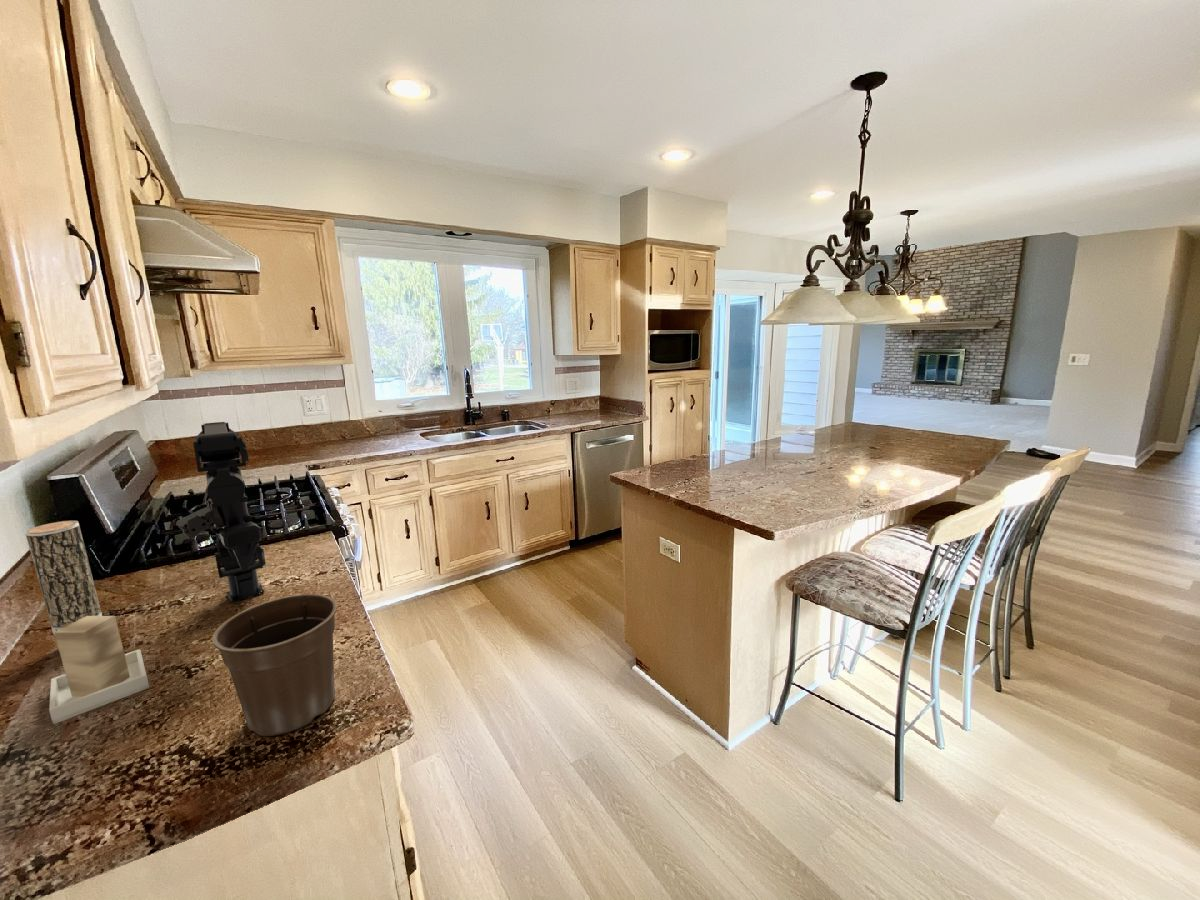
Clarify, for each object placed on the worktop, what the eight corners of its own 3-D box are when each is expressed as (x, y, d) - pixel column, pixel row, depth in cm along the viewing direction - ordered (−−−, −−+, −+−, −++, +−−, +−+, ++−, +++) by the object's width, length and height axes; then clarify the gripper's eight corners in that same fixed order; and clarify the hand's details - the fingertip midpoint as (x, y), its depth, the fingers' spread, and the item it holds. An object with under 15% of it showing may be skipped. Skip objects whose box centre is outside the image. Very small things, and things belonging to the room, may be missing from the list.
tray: (54, 691, 83) (51, 678, 82) (142, 660, 91) (140, 648, 91) (53, 724, 76) (49, 710, 75) (149, 687, 84) (146, 675, 83)
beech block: (102, 676, 86) (87, 615, 83) (129, 676, 86) (115, 615, 83) (71, 696, 81) (54, 632, 78) (100, 696, 81) (83, 632, 78)
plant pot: (239, 695, 81) (222, 608, 78) (346, 664, 89) (335, 584, 86) (222, 765, 68) (200, 664, 64) (350, 721, 75) (337, 628, 72)
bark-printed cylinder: (58, 645, 96) (26, 527, 91) (106, 630, 101) (78, 518, 96) (57, 659, 92) (23, 536, 87) (108, 643, 97) (78, 526, 92)
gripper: (169, 493, 100) (183, 563, 103) (183, 512, 87) (199, 591, 90) (235, 482, 108) (246, 547, 111) (256, 498, 95) (268, 571, 98)
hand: (239, 563), depth 102 cm, fingers open, 9 cm apart
